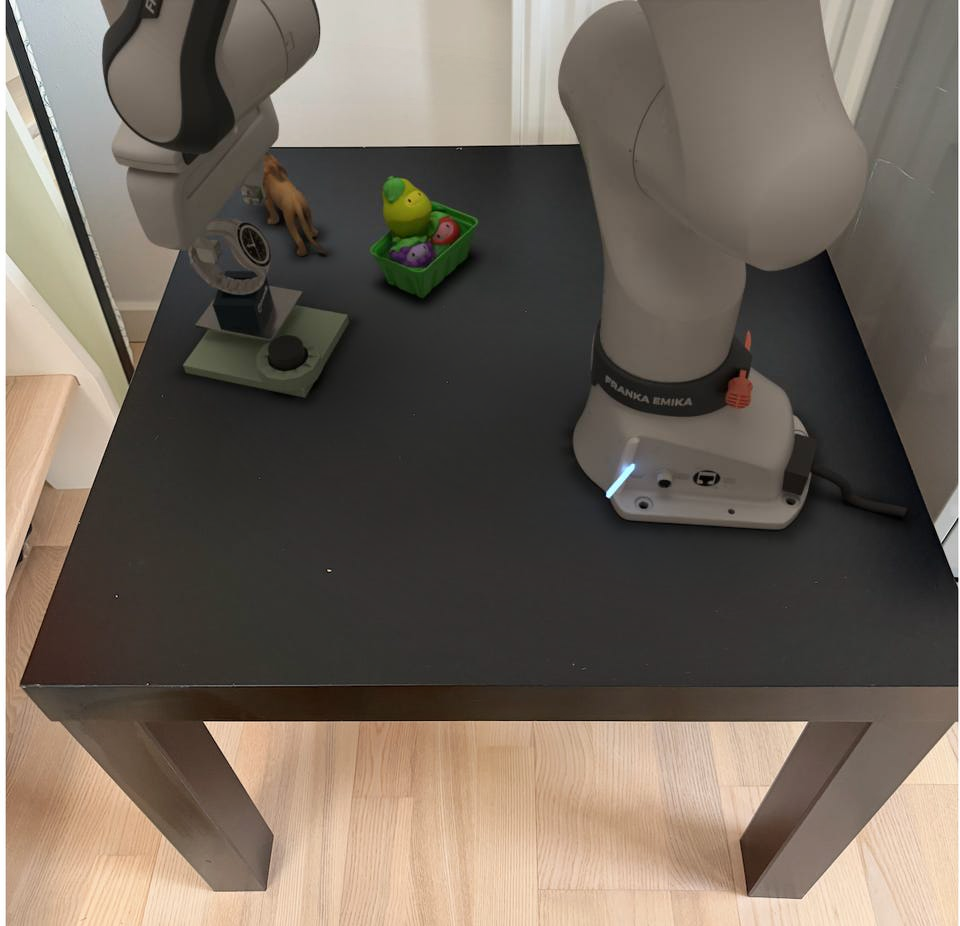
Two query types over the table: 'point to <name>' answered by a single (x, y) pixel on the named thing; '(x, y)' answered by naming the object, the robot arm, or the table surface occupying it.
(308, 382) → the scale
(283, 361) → the knob
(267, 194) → the lion figurine
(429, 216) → the fruit basket
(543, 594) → the table surface
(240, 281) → the watch
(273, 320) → the weigh plate
